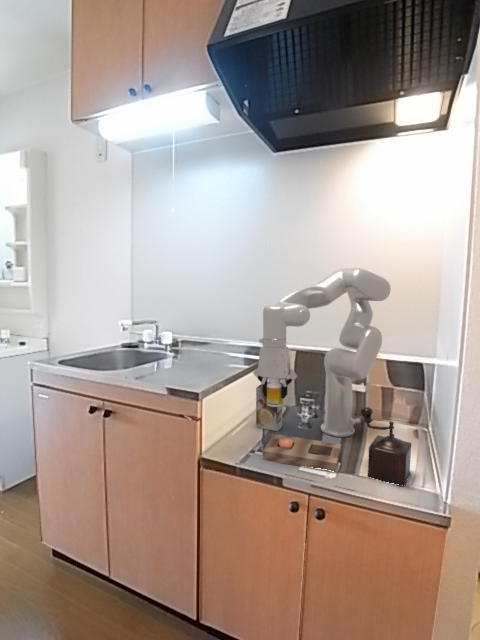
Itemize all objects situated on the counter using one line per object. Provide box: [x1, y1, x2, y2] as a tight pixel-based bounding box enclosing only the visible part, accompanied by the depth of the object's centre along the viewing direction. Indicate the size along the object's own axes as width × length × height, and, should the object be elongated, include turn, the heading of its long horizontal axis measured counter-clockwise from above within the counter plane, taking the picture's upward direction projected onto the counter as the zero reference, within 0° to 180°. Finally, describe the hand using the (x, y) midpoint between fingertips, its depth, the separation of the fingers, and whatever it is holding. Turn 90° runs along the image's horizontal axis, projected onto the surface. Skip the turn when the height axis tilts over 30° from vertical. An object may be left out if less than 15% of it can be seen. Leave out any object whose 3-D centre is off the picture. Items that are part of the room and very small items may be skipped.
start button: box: [279, 438, 293, 449], centre depth 127 cm, size 4×4×3 cm
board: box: [262, 433, 342, 473], centre depth 125 cm, size 23×14×3 cm, turn 70°
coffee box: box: [255, 383, 283, 432], centre depth 149 cm, size 9×6×16 cm
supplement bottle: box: [267, 378, 284, 407], centre depth 128 cm, size 5×5×10 cm
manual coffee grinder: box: [360, 406, 412, 487], centre depth 115 cm, size 16×11×18 cm
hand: (275, 395), depth 128 cm, fingers closed on supplement bottle, 5 cm apart
